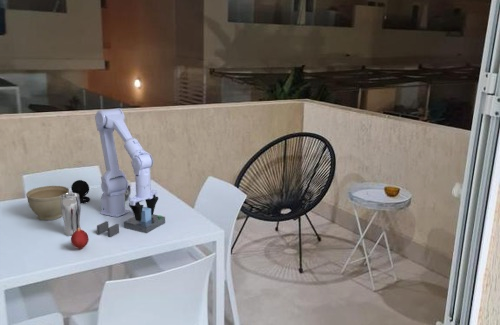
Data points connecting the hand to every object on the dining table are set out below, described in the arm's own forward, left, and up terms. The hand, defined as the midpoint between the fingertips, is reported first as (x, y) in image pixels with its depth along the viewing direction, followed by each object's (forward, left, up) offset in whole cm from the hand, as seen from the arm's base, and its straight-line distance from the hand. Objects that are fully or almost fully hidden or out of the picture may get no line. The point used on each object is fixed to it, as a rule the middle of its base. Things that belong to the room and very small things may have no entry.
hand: (144, 217), depth 187 cm
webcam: (-43, +9, -4) cm, 44 cm away
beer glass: (-19, -19, -4) cm, 27 cm away
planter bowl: (-40, -11, -4) cm, 42 cm away
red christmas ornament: (-6, -28, -4) cm, 29 cm away
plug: (0, 0, -3) cm, 3 cm away
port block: (0, 0, -3) cm, 3 cm away
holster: (-7, -13, -3) cm, 15 cm away
